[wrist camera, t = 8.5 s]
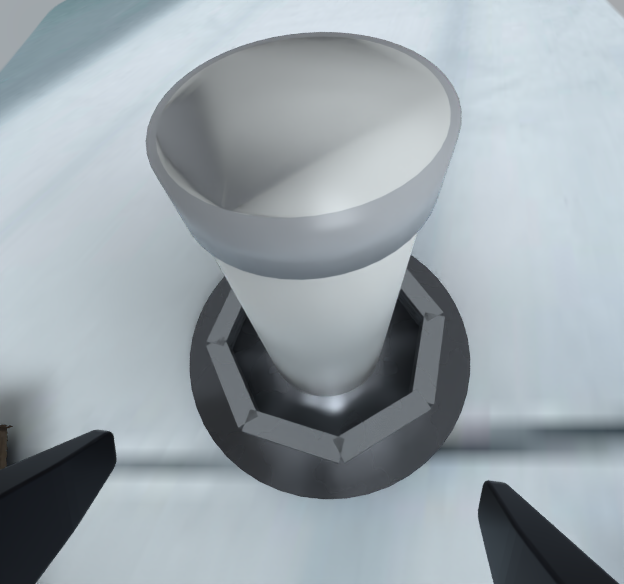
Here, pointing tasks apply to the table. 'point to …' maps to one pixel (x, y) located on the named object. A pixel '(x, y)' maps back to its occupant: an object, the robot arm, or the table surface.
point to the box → (3, 445)
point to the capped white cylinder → (309, 187)
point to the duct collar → (334, 397)
